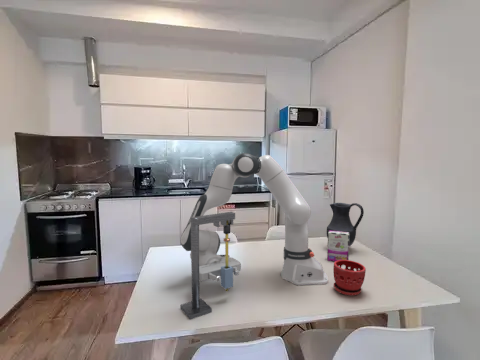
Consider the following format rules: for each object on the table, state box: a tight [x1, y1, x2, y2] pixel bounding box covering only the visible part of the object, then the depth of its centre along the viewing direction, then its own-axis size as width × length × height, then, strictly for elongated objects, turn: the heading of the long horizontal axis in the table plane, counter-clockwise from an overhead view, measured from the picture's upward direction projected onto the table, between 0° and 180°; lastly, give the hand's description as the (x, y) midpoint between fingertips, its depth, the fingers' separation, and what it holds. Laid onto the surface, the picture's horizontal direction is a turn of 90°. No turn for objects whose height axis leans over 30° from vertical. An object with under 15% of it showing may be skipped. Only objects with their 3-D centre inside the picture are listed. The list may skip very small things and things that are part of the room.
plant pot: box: [332, 260, 367, 296], centre depth 130 cm, size 13×13×12 cm
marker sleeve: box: [220, 265, 234, 289], centre depth 121 cm, size 4×4×8 cm
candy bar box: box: [326, 231, 350, 263], centre depth 164 cm, size 11×5×16 cm, turn 68°
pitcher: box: [326, 202, 364, 248], centre depth 179 cm, size 17×21×30 cm
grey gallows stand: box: [179, 211, 236, 320], centre depth 116 cm, size 22×9×36 cm, turn 124°
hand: (228, 276), depth 120 cm, fingers open, 8 cm apart
